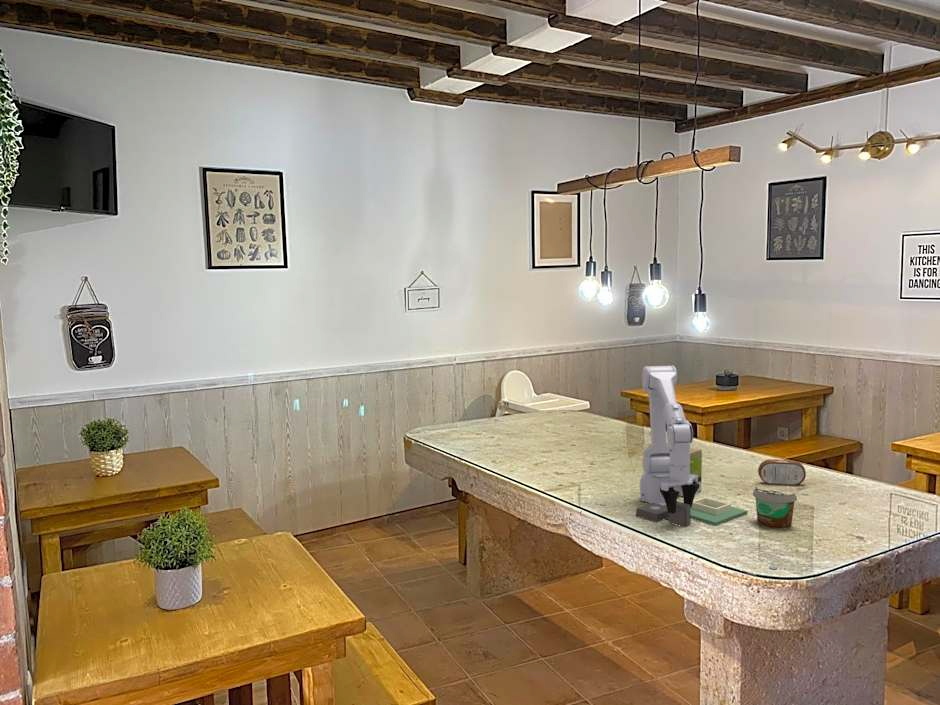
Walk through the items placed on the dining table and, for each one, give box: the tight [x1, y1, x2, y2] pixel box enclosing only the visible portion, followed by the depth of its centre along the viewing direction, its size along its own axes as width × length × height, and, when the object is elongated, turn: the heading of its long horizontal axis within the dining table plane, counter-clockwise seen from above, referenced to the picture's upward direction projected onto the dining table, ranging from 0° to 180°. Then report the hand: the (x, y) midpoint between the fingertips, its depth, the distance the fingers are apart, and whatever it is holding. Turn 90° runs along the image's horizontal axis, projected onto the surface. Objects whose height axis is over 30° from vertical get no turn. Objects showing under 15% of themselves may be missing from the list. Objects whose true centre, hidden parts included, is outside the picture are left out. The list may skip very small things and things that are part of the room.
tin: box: [757, 459, 807, 486], centre depth 251 cm, size 15×3×8 cm, turn 74°
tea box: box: [651, 442, 703, 497], centre depth 248 cm, size 15×10×15 cm
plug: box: [668, 500, 691, 528], centre depth 215 cm, size 6×3×6 cm, turn 37°
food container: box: [752, 485, 798, 529], centre depth 212 cm, size 12×6×10 cm, turn 44°
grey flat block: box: [635, 503, 669, 523], centre depth 222 cm, size 10×8×3 cm
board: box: [690, 496, 748, 527], centre depth 224 cm, size 16×16×3 cm
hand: (679, 509), depth 215 cm, fingers open, 7 cm apart
